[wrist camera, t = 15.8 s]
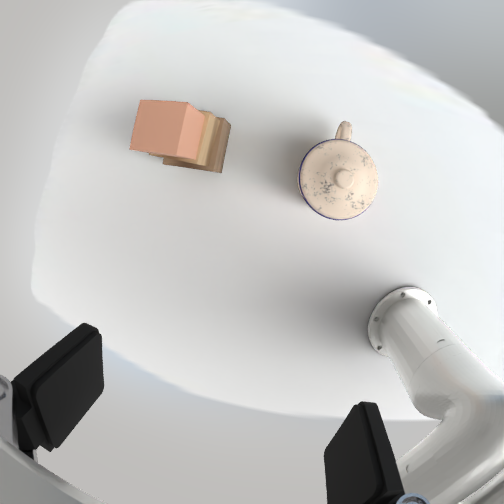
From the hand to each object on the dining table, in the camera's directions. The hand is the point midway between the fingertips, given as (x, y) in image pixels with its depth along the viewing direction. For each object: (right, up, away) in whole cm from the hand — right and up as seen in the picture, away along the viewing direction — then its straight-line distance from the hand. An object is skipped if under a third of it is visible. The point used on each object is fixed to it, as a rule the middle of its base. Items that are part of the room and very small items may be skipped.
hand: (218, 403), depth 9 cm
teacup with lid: (+12, +17, +29) cm, 36 cm away
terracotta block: (-7, +18, +21) cm, 28 cm away
